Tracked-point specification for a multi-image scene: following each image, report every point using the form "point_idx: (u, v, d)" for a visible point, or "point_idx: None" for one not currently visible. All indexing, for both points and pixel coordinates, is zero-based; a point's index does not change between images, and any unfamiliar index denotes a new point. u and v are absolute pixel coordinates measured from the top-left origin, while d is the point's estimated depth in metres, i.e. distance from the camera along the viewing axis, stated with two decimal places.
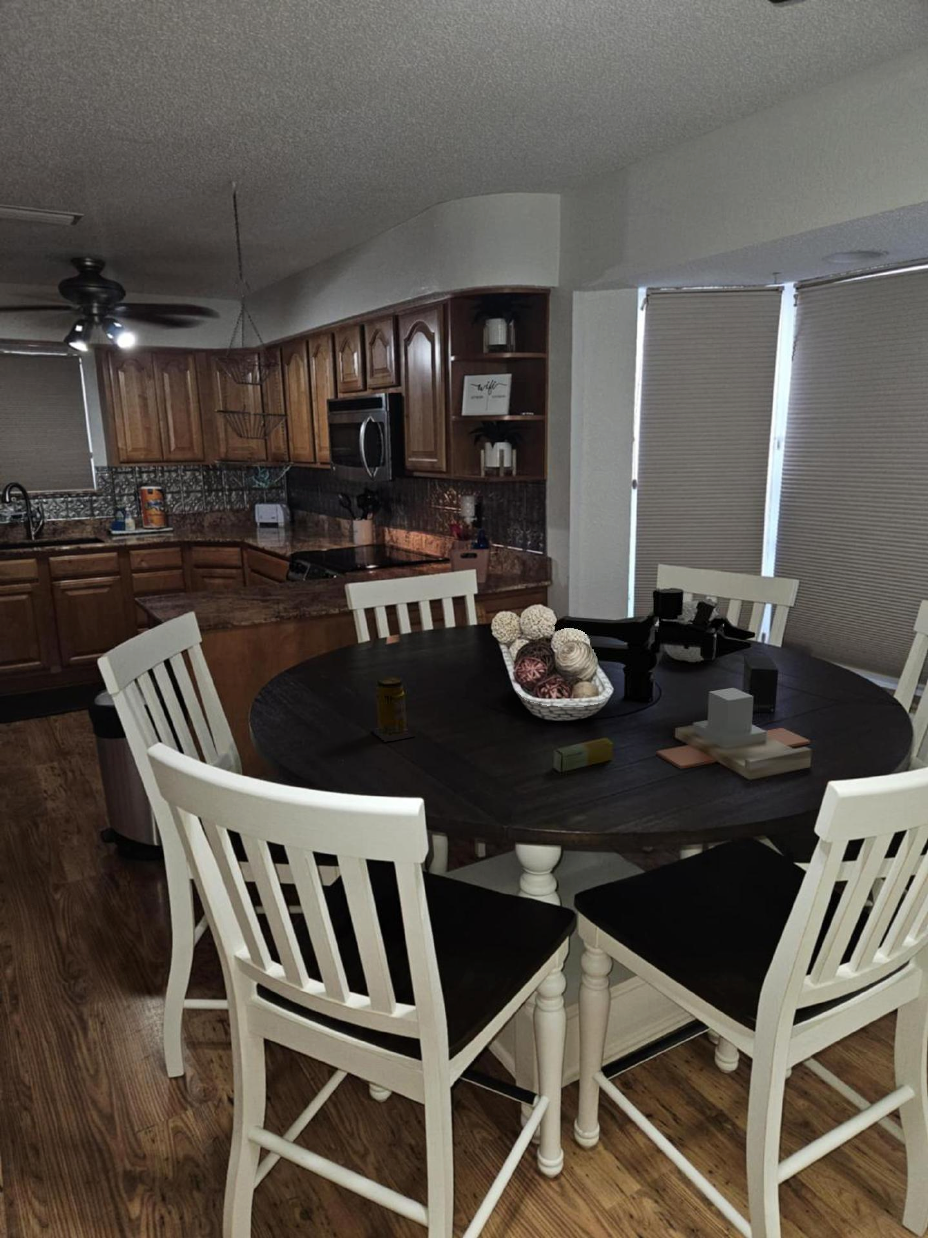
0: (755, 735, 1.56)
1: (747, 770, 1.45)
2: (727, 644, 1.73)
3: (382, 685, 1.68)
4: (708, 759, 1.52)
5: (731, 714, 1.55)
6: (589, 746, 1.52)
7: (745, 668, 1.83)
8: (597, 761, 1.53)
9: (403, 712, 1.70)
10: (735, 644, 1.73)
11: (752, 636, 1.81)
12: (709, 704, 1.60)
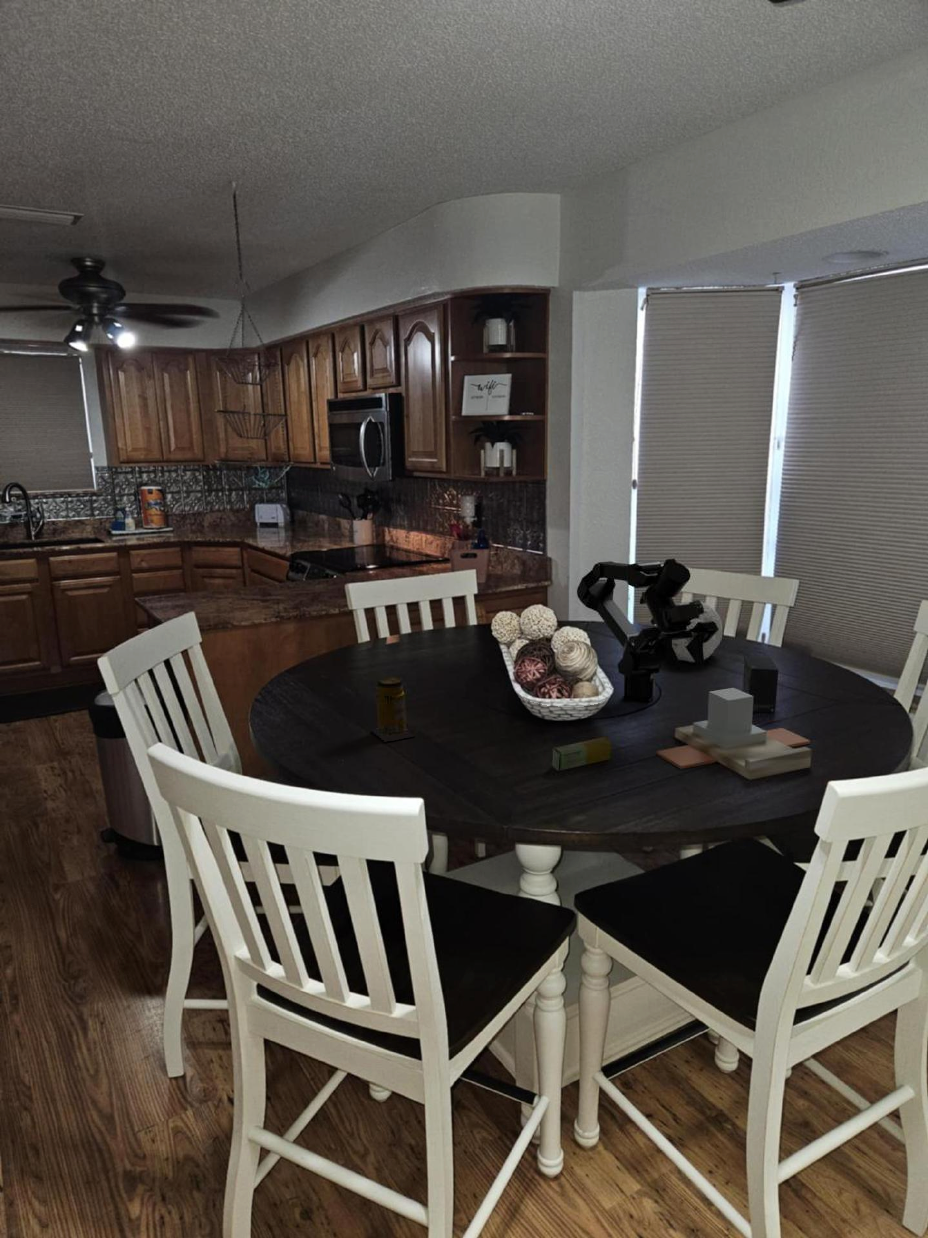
0: (755, 735, 1.56)
1: (747, 770, 1.45)
2: (666, 652, 1.70)
3: (382, 685, 1.68)
4: (708, 759, 1.52)
5: (731, 714, 1.55)
6: (588, 745, 1.52)
7: (745, 668, 1.83)
8: (596, 760, 1.54)
9: (403, 712, 1.70)
10: (670, 658, 1.69)
11: (701, 666, 1.71)
12: (709, 704, 1.60)
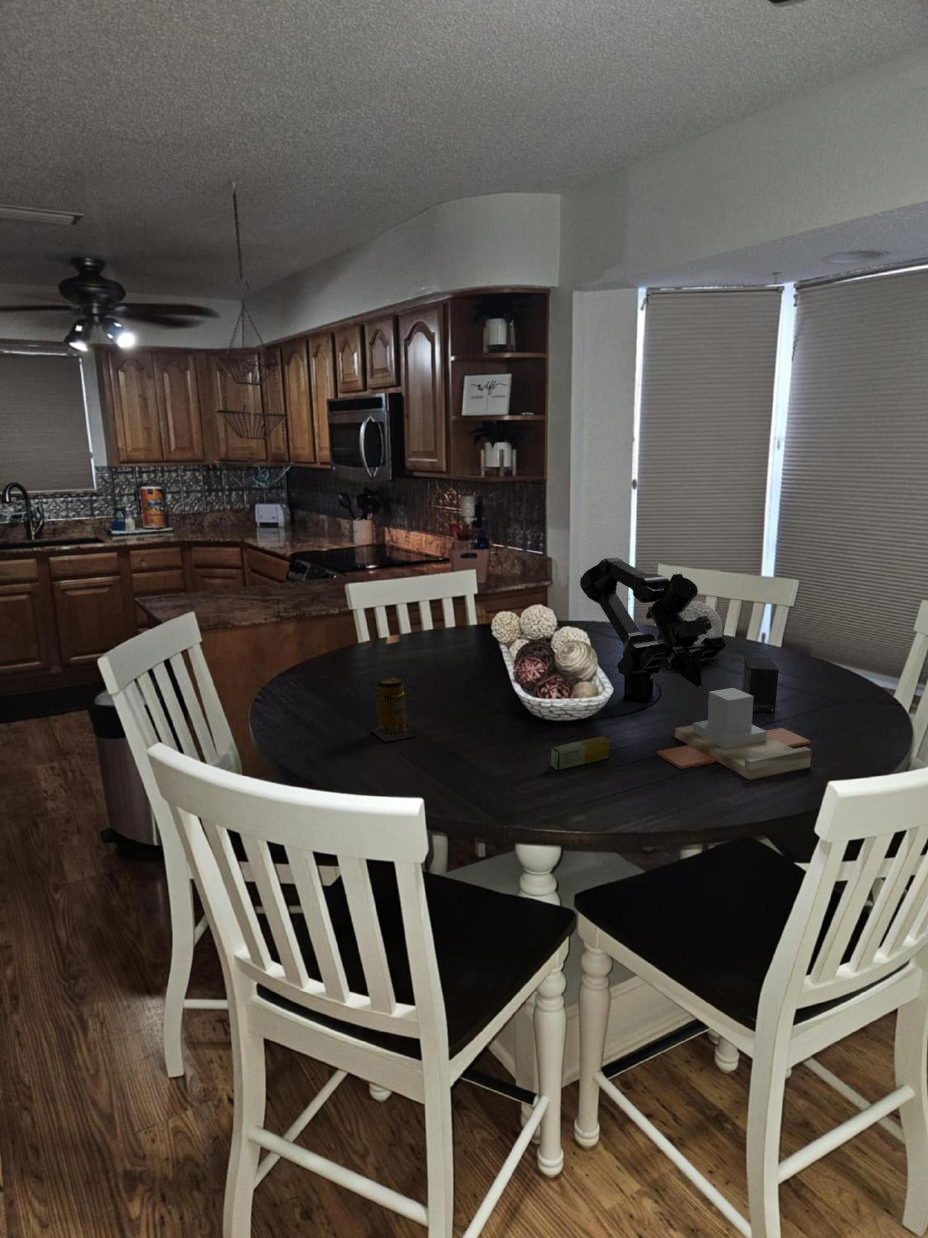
0: (755, 735, 1.56)
1: (747, 770, 1.45)
2: (684, 667, 1.69)
3: (382, 685, 1.68)
4: (708, 759, 1.52)
5: (731, 714, 1.55)
6: (586, 744, 1.53)
7: (745, 668, 1.84)
8: (594, 759, 1.54)
9: (403, 712, 1.70)
10: (688, 673, 1.68)
11: None
12: (709, 704, 1.60)
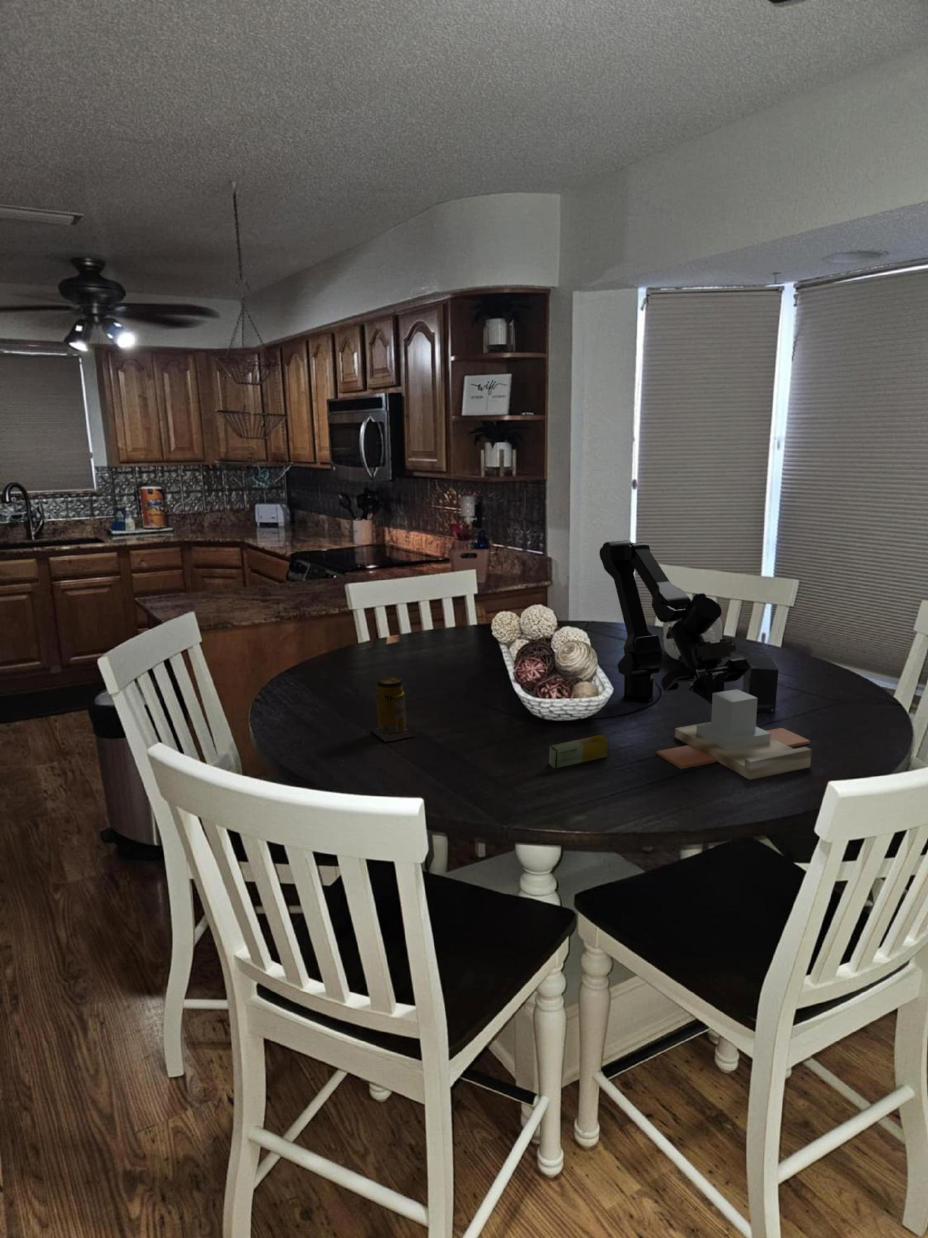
0: (759, 737, 1.55)
1: (747, 770, 1.45)
2: (707, 691, 1.63)
3: (382, 685, 1.68)
4: (708, 759, 1.52)
5: (735, 716, 1.54)
6: (584, 743, 1.53)
7: None
8: (592, 758, 1.55)
9: (403, 712, 1.70)
10: (711, 697, 1.62)
11: None
12: (712, 705, 1.59)
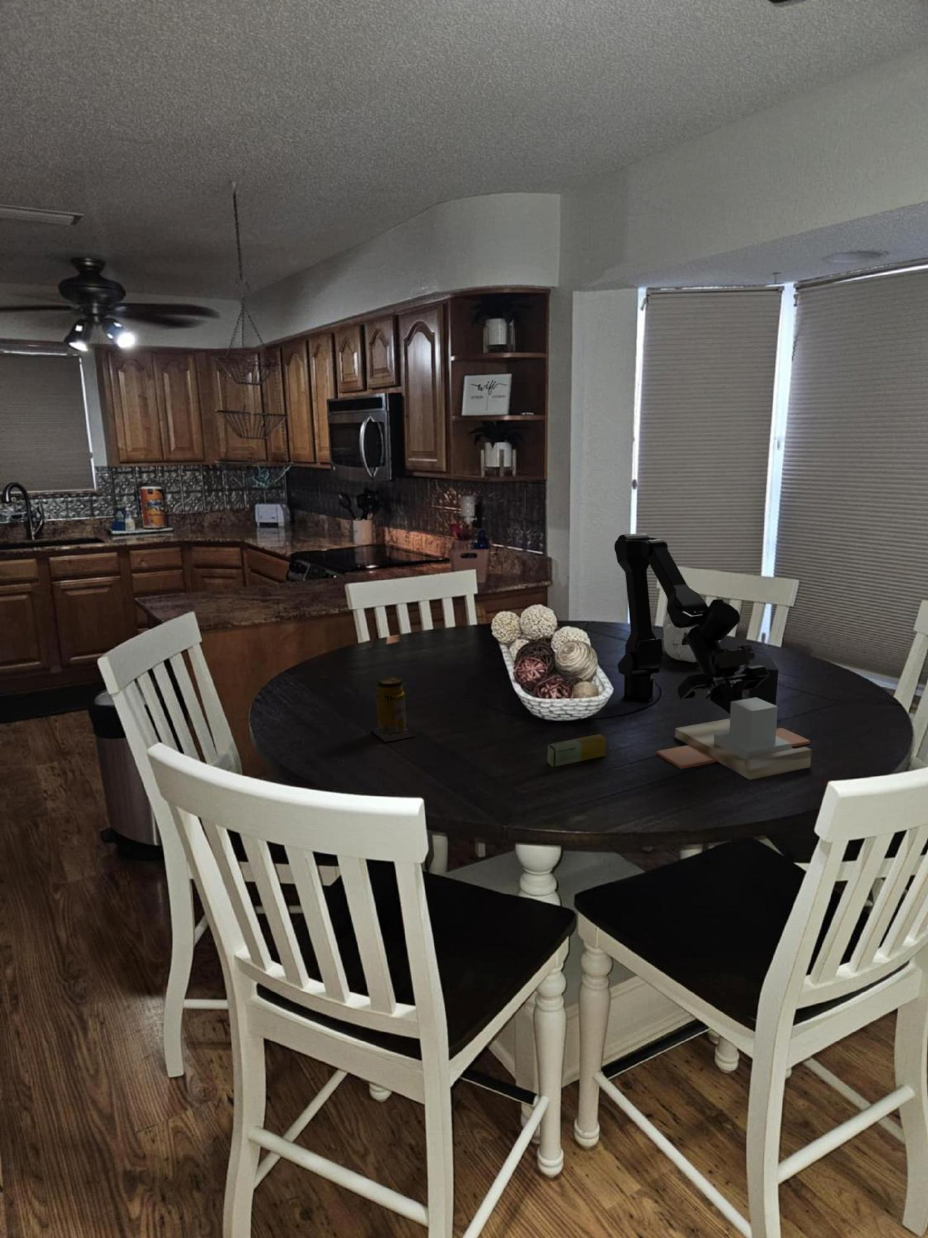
0: (780, 747, 1.49)
1: (747, 770, 1.45)
2: (725, 699, 1.58)
3: (382, 685, 1.68)
4: (708, 759, 1.52)
5: (754, 725, 1.49)
6: (582, 742, 1.54)
7: (745, 668, 1.83)
8: (590, 757, 1.55)
9: (403, 712, 1.70)
10: (729, 706, 1.57)
11: None
12: (731, 714, 1.54)
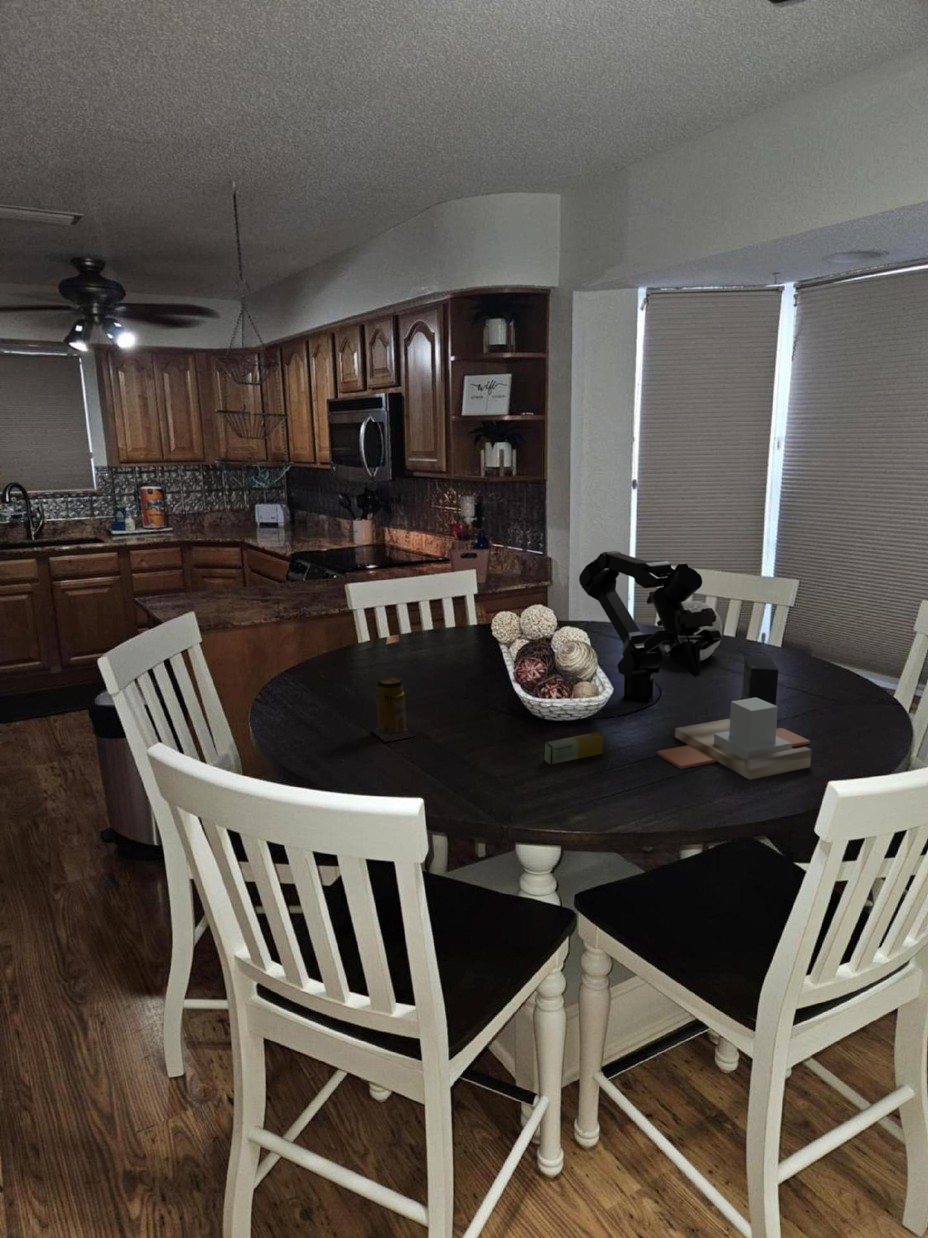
0: (780, 747, 1.49)
1: (747, 770, 1.45)
2: (684, 656, 1.70)
3: (382, 685, 1.68)
4: (708, 759, 1.52)
5: (754, 725, 1.49)
6: (579, 740, 1.55)
7: (745, 668, 1.84)
8: (587, 755, 1.56)
9: (403, 712, 1.70)
10: (688, 663, 1.69)
11: None
12: (731, 714, 1.54)
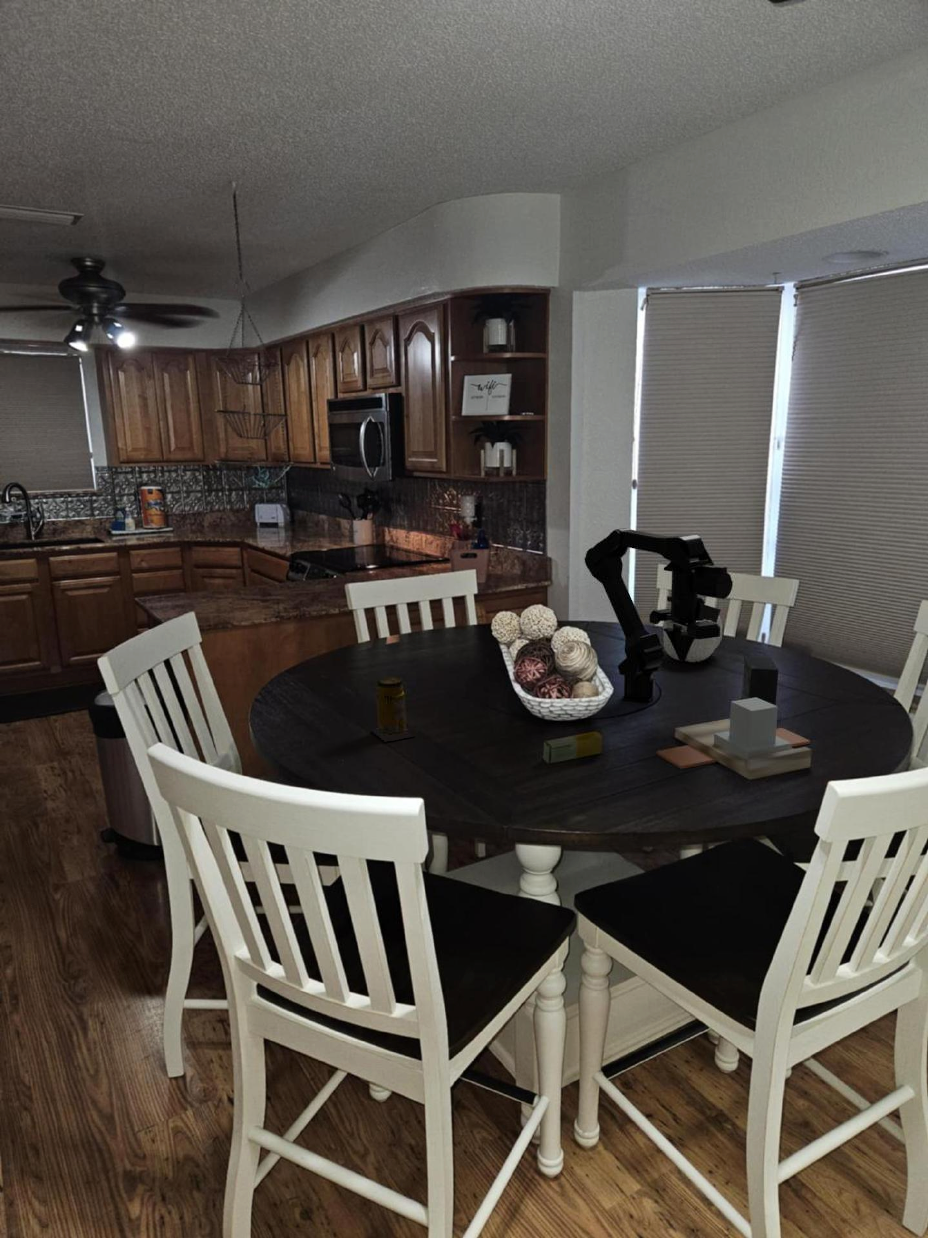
0: (780, 747, 1.49)
1: (747, 770, 1.45)
2: (686, 641, 1.76)
3: (382, 685, 1.68)
4: (708, 759, 1.52)
5: (754, 725, 1.49)
6: (578, 739, 1.56)
7: (745, 668, 1.83)
8: (586, 754, 1.57)
9: (403, 711, 1.70)
10: (686, 648, 1.76)
11: None
12: (731, 714, 1.54)
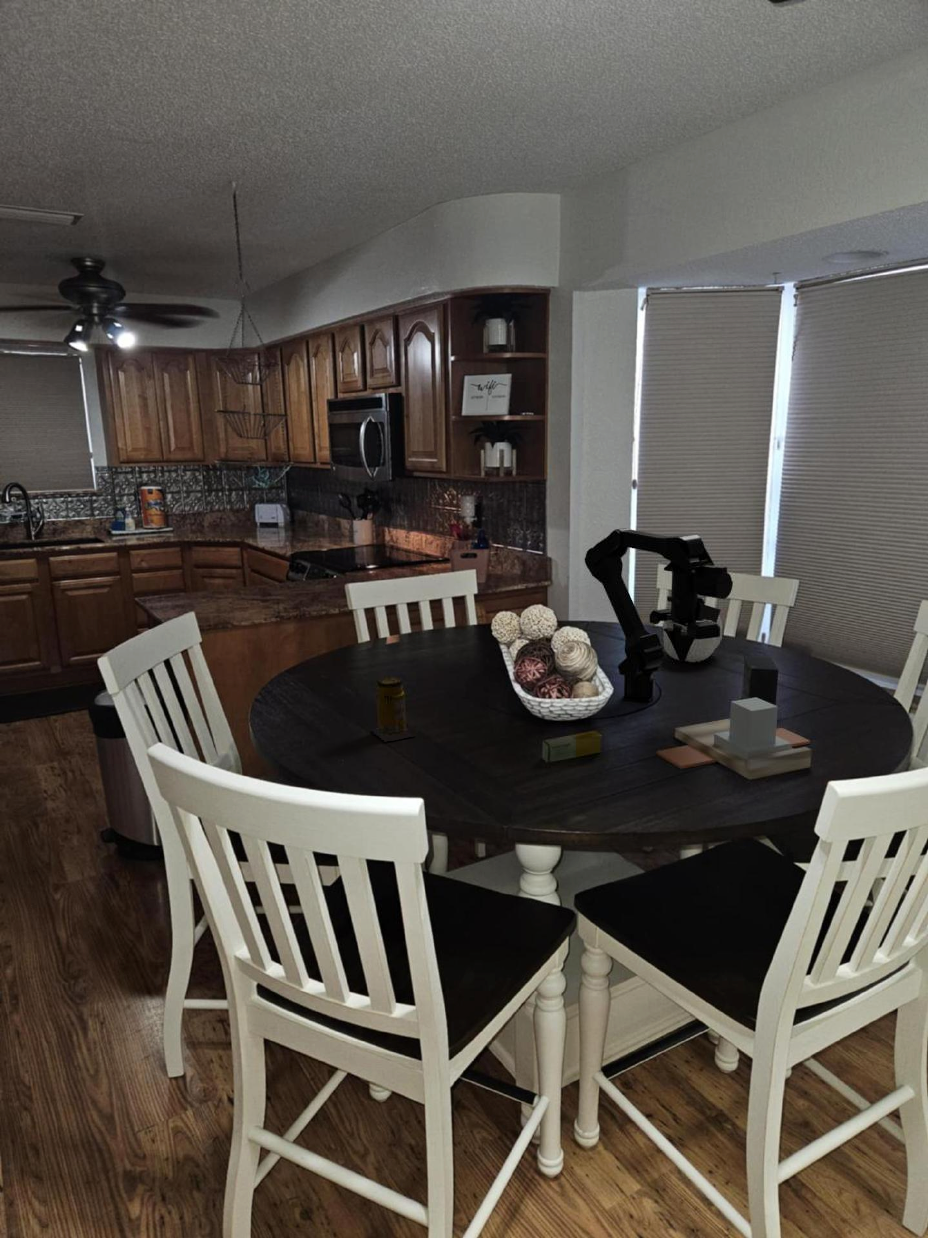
0: (780, 747, 1.49)
1: (747, 770, 1.45)
2: (686, 641, 1.76)
3: (382, 685, 1.68)
4: (708, 759, 1.52)
5: (754, 725, 1.49)
6: (577, 738, 1.56)
7: (745, 668, 1.84)
8: (585, 753, 1.57)
9: (403, 711, 1.70)
10: (686, 648, 1.76)
11: None
12: (731, 714, 1.54)
